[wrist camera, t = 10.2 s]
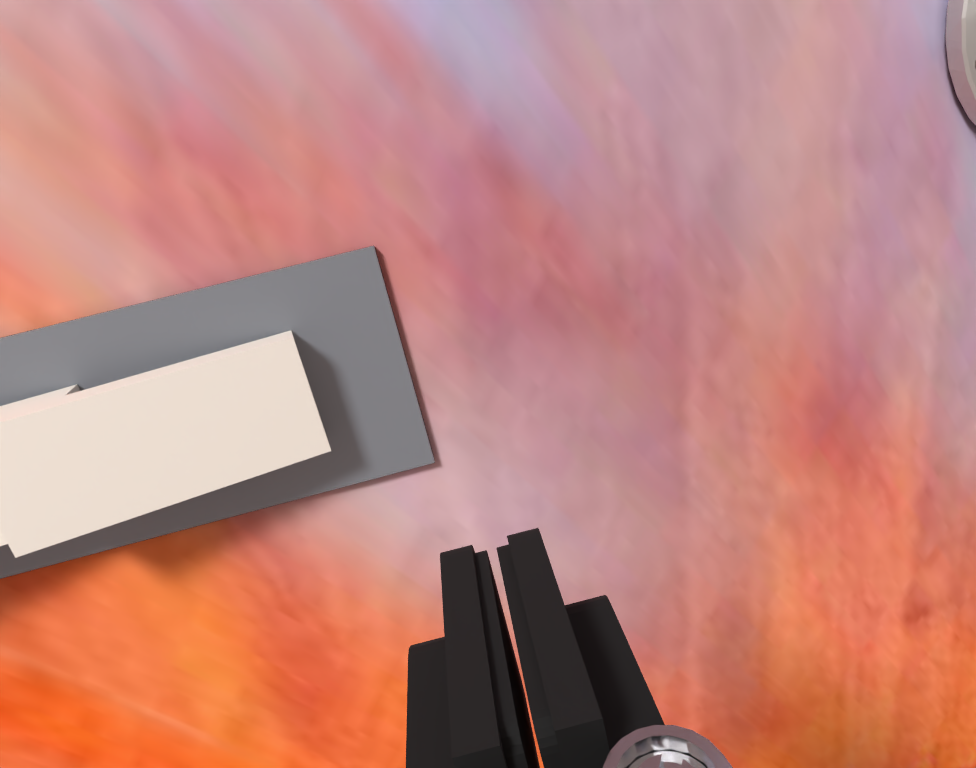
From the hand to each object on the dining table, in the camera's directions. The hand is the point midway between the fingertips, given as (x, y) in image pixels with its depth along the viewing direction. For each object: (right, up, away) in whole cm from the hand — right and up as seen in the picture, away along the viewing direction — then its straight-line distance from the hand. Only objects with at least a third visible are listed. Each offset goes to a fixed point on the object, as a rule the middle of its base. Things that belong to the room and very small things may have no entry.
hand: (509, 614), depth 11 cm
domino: (-8, +4, +16) cm, 18 cm away
